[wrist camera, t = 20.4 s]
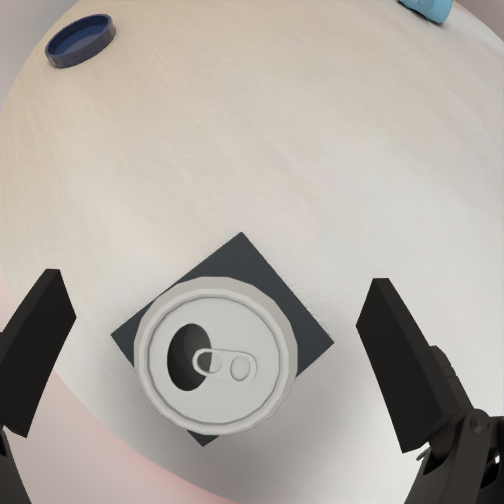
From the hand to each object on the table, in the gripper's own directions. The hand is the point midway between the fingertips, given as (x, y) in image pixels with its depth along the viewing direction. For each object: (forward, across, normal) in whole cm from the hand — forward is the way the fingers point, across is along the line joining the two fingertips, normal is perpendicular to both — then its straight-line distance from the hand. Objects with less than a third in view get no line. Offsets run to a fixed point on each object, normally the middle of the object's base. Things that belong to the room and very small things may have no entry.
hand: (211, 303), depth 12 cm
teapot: (+53, +40, +35) cm, 75 cm away
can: (+7, 0, -10) cm, 12 cm away
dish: (+35, -23, +17) cm, 45 cm away
